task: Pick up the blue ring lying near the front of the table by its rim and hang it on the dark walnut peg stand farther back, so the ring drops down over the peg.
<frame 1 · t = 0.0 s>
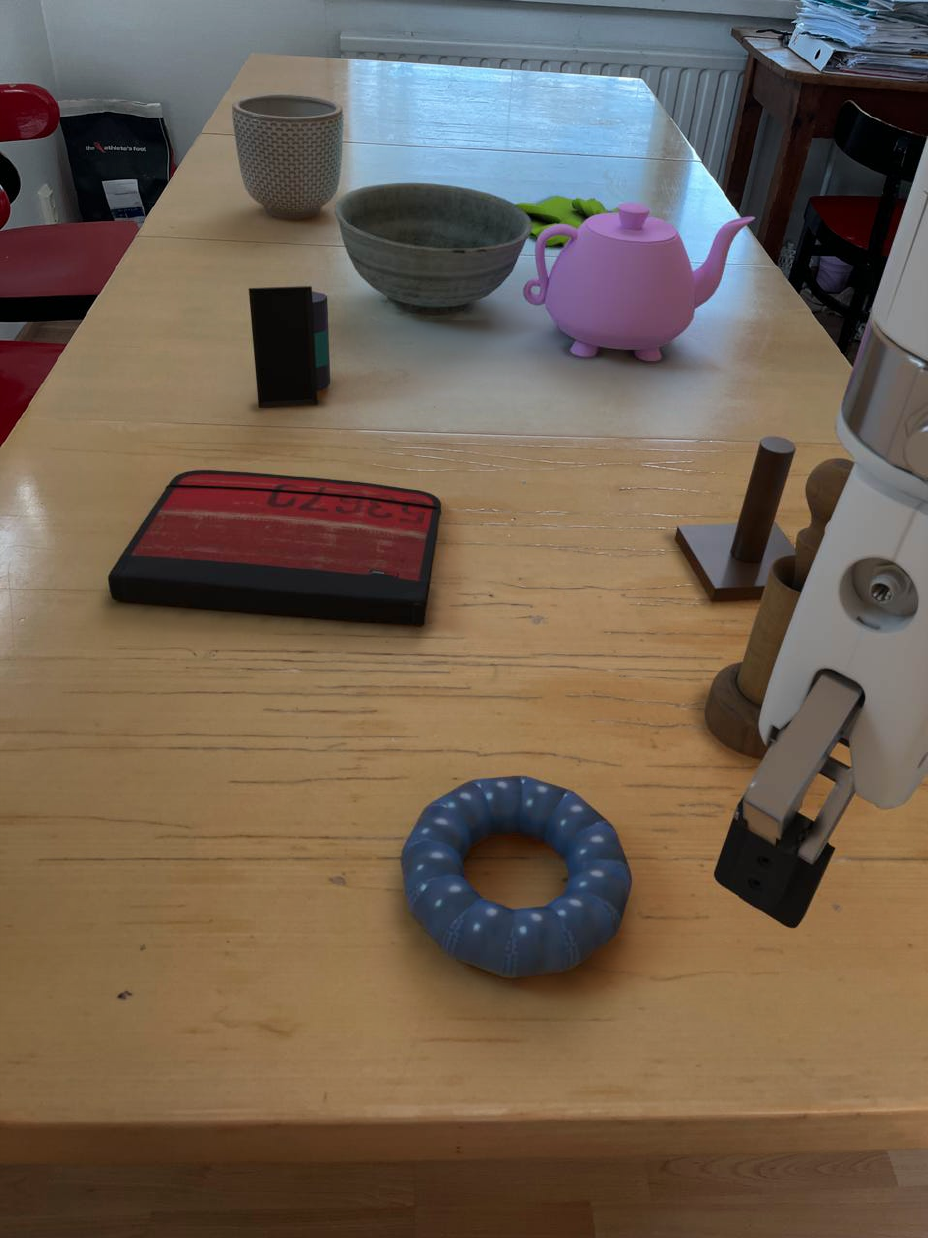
hand: (815, 820, 38), 13 cm above the table, tool pointing down, fingers open, 9 cm apart
cloth: (572, 223, 138), on the table
teapot: (621, 342, 106), on the table
speaker: (291, 391, 93), on the table
bowl: (430, 304, 112), on the table
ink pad: (290, 551, 73), on the table
mortar and pestle: (757, 725, 61), on the table
stand: (743, 566, 74), on the table
blue ring: (515, 869, 50), point 1 cm above the table
planter: (292, 213, 134), on the table
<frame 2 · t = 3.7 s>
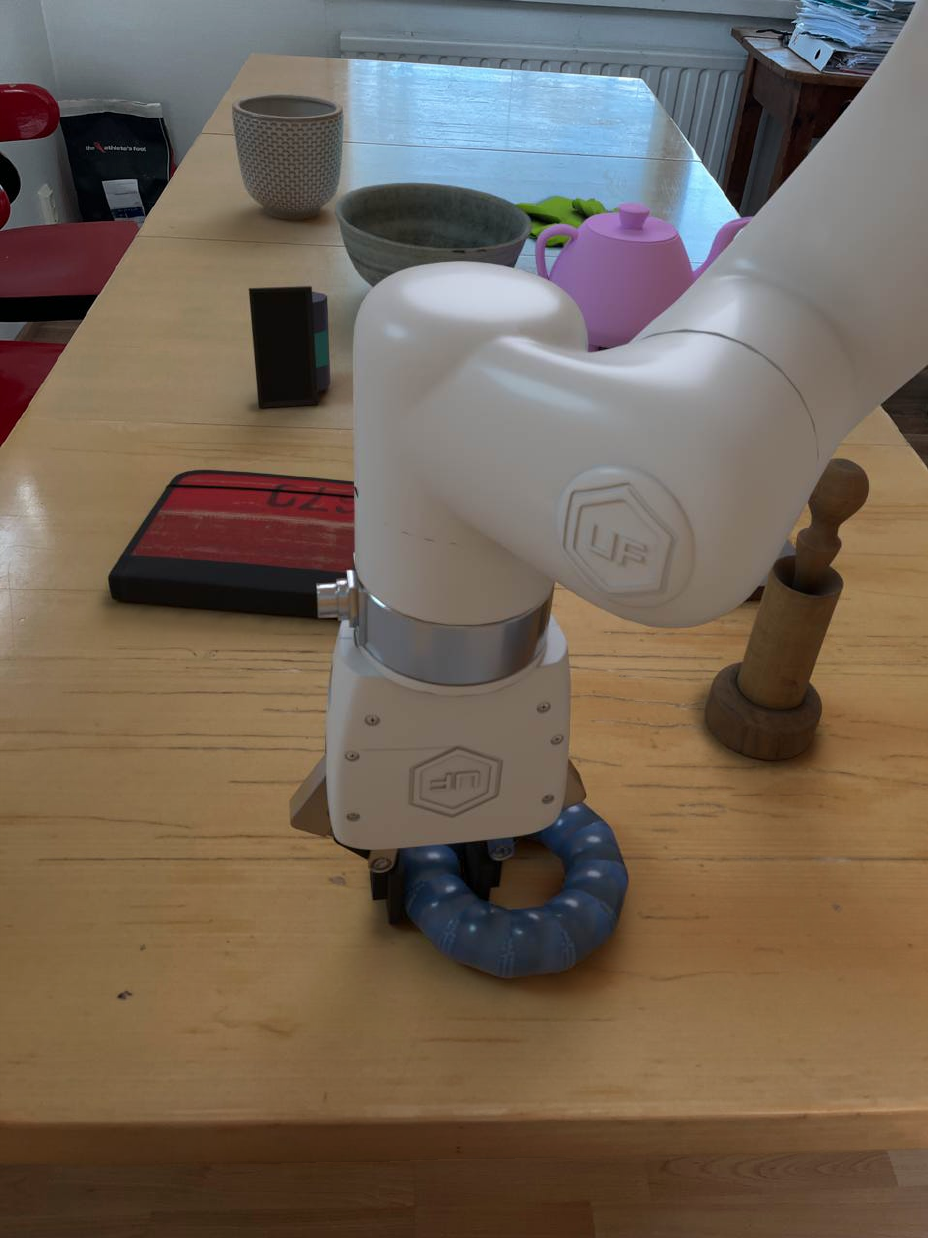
hand: (433, 893, 50), 0 cm above the table, tool pointing down, fingers closed on blue ring, 3 cm apart
blue ring: (512, 869, 50), point 2 cm above the table, touching gripper
everything else where it was.
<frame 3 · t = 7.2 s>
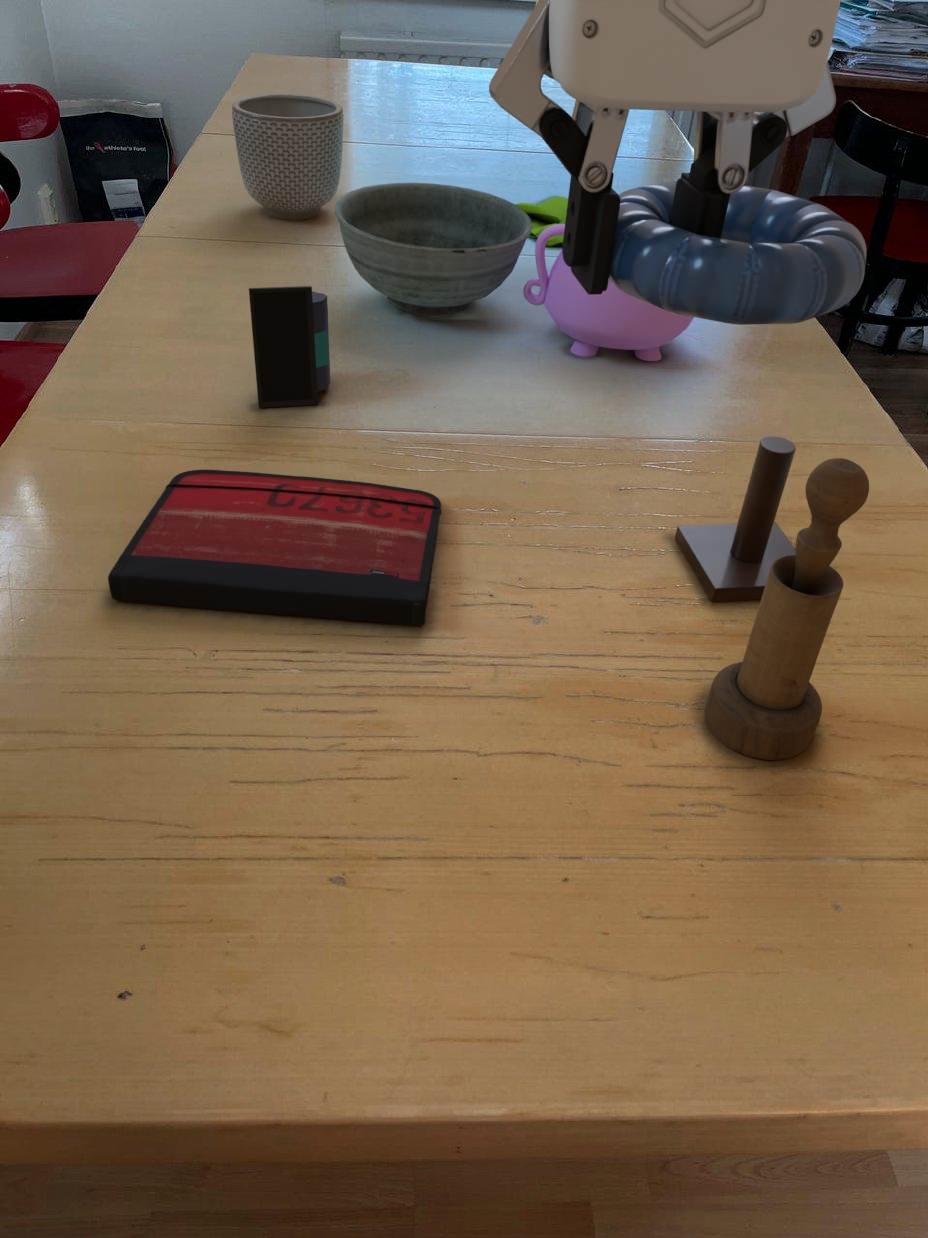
hand: (635, 277, 42), 27 cm above the table, tool pointing down, fingers closed on blue ring, 3 cm apart
blue ring: (726, 248, 42), point 29 cm above the table, touching gripper
everything else where it was.
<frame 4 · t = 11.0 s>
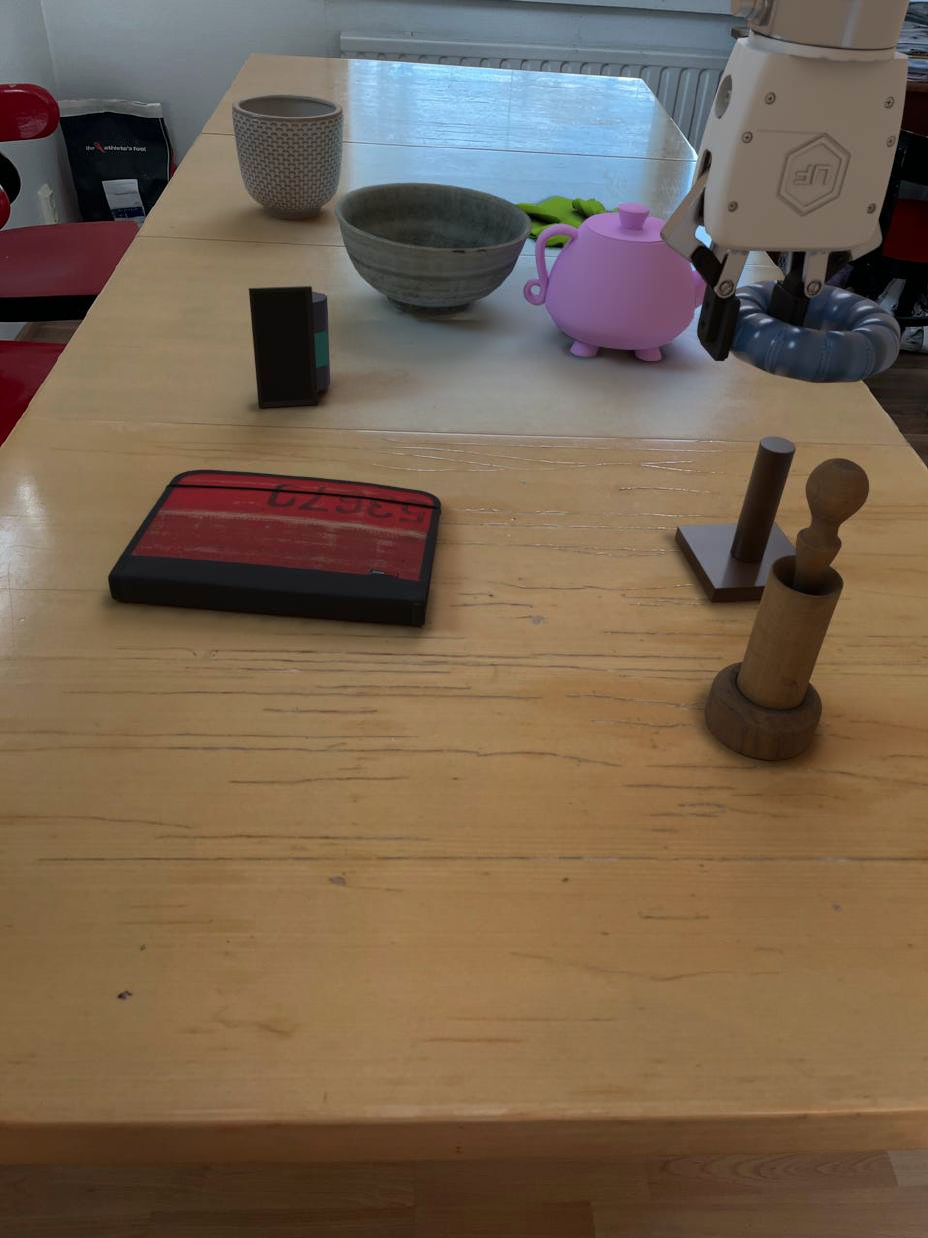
hand: (744, 348, 63), 17 cm above the table, tool pointing down, fingers closed on blue ring, 3 cm apart
blue ring: (806, 329, 63), point 18 cm above the table, touching gripper
everything else where it was.
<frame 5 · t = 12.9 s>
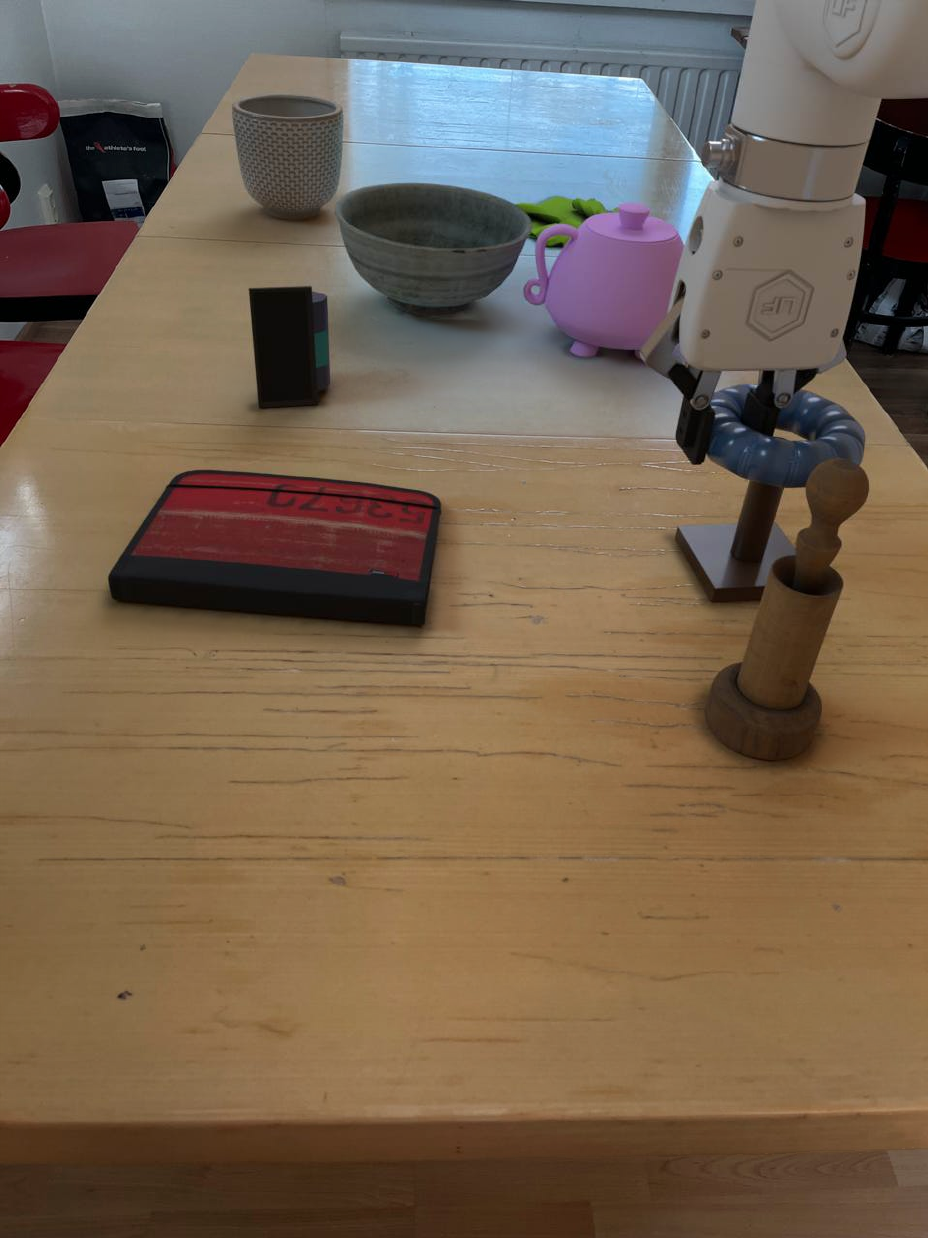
hand: (719, 451, 68), 10 cm above the table, tool pointing down, fingers closed on blue ring, 3 cm apart
blue ring: (778, 433, 67), point 11 cm above the table, touching gripper
everything else where it was.
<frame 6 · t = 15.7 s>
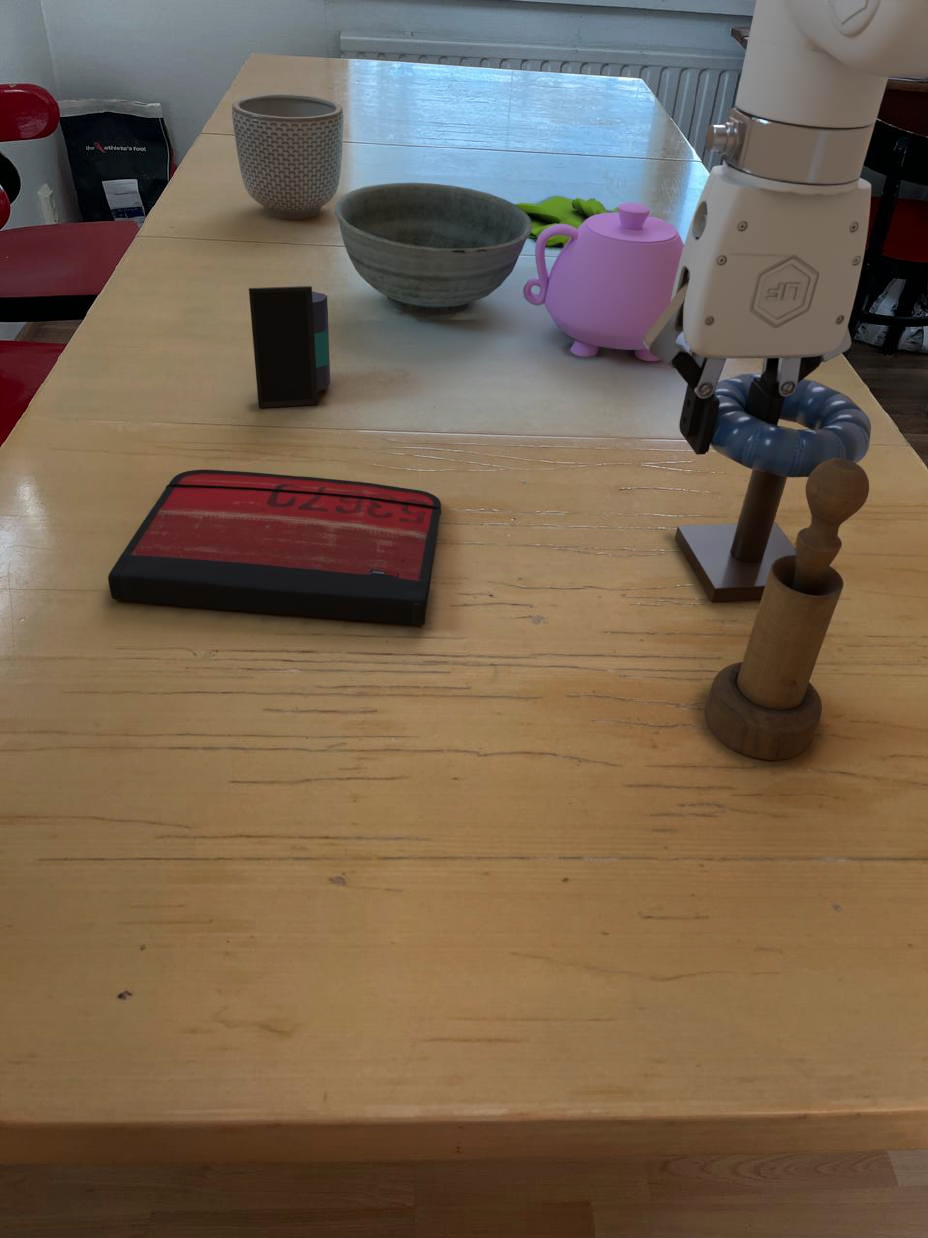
hand: (724, 441, 67), 11 cm above the table, tool pointing down, fingers closed on blue ring, 3 cm apart
blue ring: (782, 422, 67), point 12 cm above the table, touching gripper
everything else where it was.
when the fingers open (11 cm above the table, at t = 18.2 s): blue ring drops 9 cm, resting on stand.
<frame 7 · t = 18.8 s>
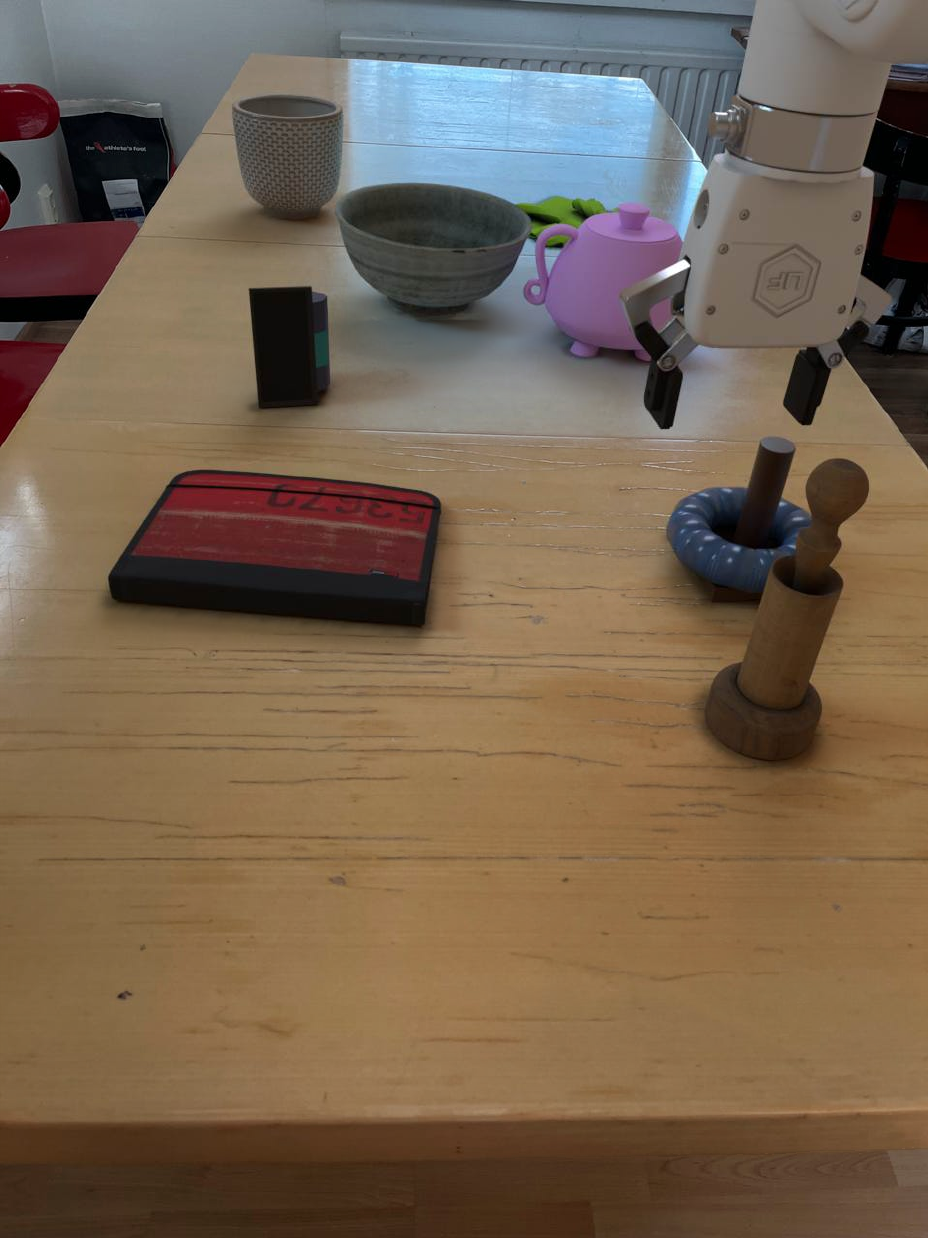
hand: (728, 417, 66), 12 cm above the table, tool pointing down, fingers open, 9 cm apart
blue ring: (745, 537, 72), point 3 cm above the table, touching stand
everything else where it was.
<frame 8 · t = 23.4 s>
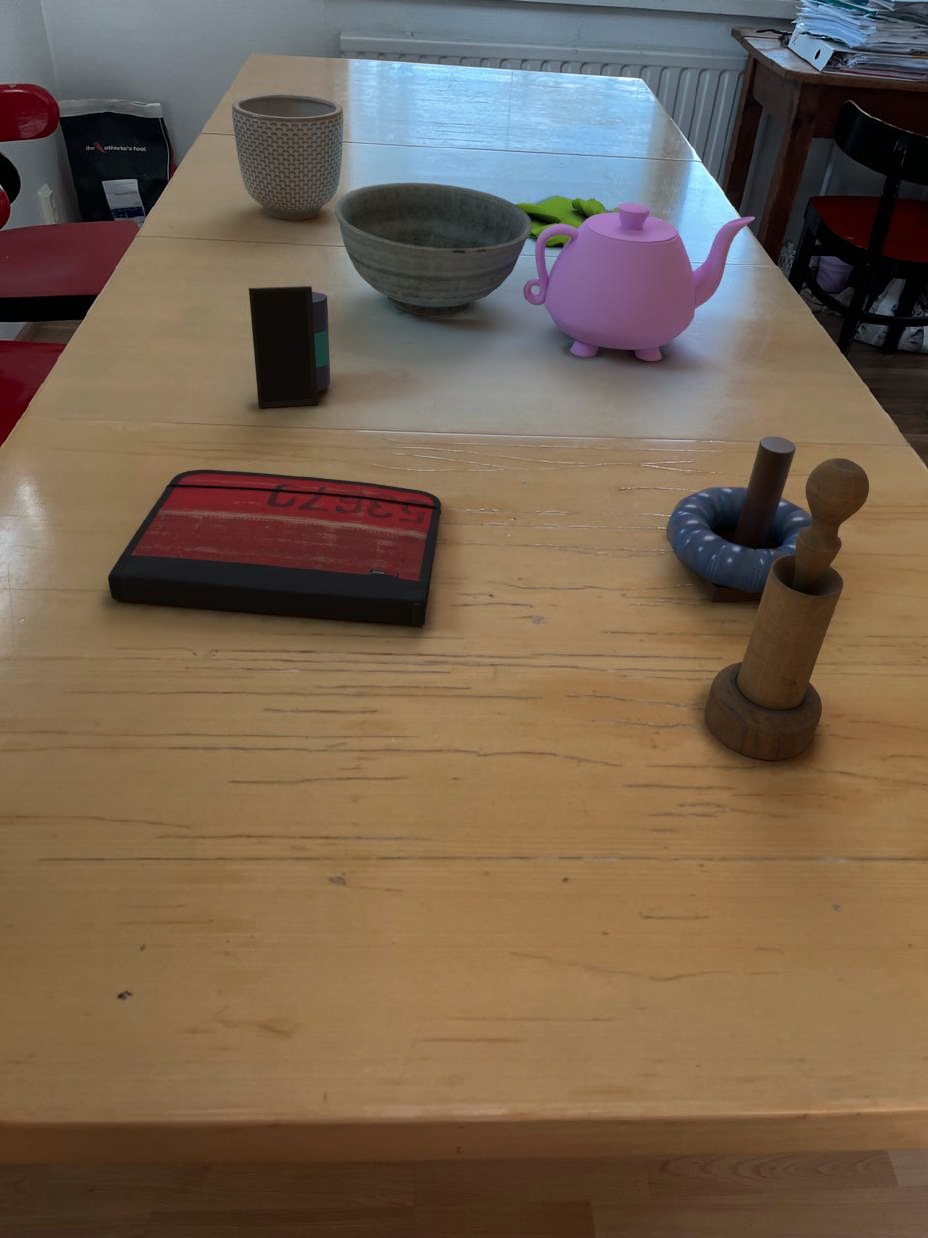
nothing on the table moved.
at the end: blue ring 0.5 cm off-centre on the stand, point 2.7 cm above the stand's base; the gripper is holding nothing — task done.
